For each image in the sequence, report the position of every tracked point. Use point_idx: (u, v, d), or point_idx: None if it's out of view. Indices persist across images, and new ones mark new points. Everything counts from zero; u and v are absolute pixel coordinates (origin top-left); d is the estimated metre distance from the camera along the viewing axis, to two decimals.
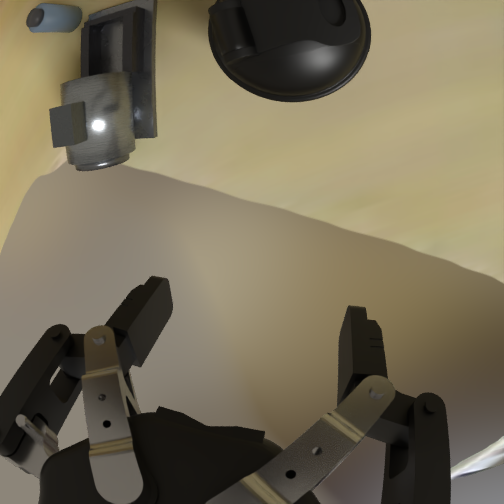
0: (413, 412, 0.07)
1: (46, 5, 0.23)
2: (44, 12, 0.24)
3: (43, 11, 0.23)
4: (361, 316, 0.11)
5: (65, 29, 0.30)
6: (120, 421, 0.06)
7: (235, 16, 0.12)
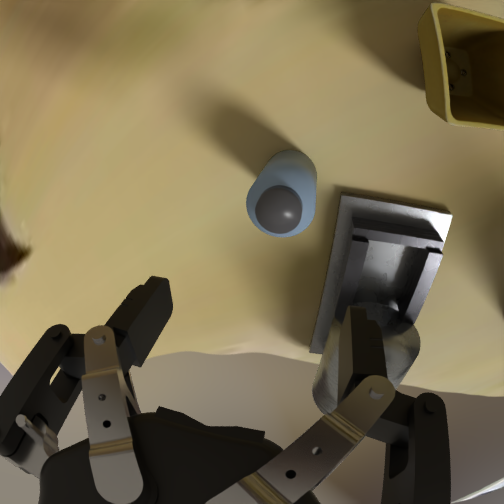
0: (413, 412, 0.07)
1: (308, 190, 0.20)
2: (301, 205, 0.21)
3: (302, 203, 0.21)
4: (361, 316, 0.11)
5: None
6: (120, 421, 0.06)
7: None
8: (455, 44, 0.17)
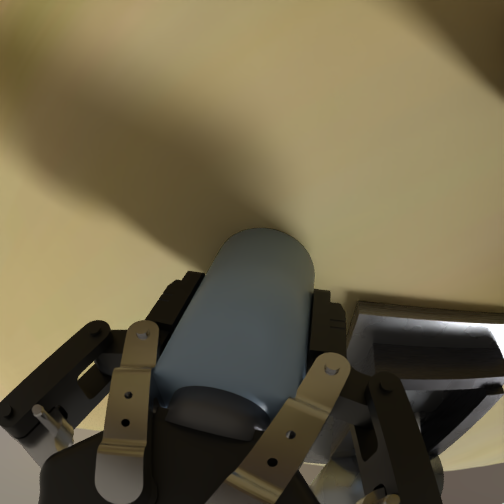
0: (370, 394, 0.08)
1: (284, 401, 0.07)
2: (268, 419, 0.08)
3: (267, 421, 0.08)
4: (324, 298, 0.12)
5: None
6: (140, 424, 0.06)
7: None
8: None
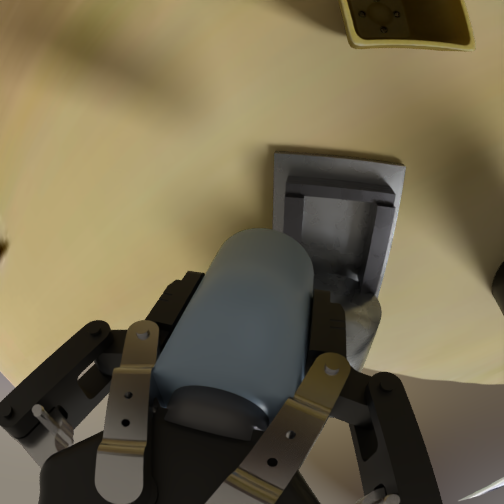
0: (370, 394, 0.08)
1: (282, 401, 0.07)
2: (266, 419, 0.08)
3: (266, 420, 0.08)
4: (324, 298, 0.12)
5: None
6: (140, 423, 0.06)
7: None
8: None
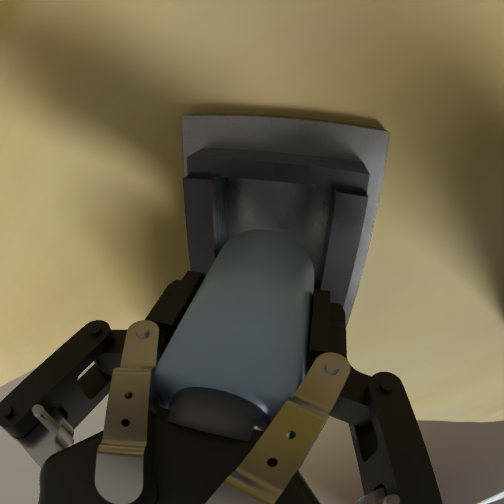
0: (370, 394, 0.08)
1: (283, 402, 0.07)
2: (267, 420, 0.08)
3: (267, 421, 0.08)
4: (324, 298, 0.12)
5: None
6: (140, 424, 0.06)
7: None
8: None
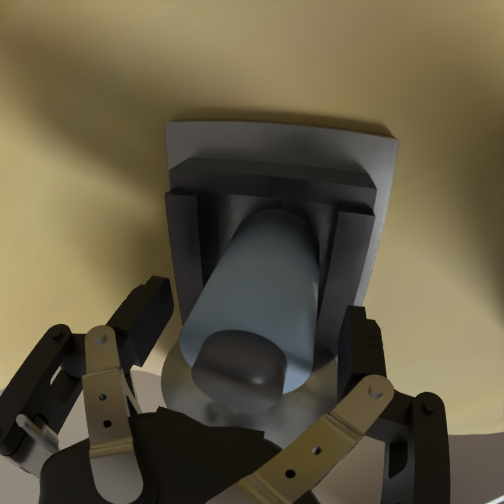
0: (412, 411, 0.07)
1: (300, 340, 0.09)
2: (285, 362, 0.10)
3: (285, 362, 0.10)
4: (360, 315, 0.11)
5: None
6: (121, 421, 0.06)
7: None
8: None
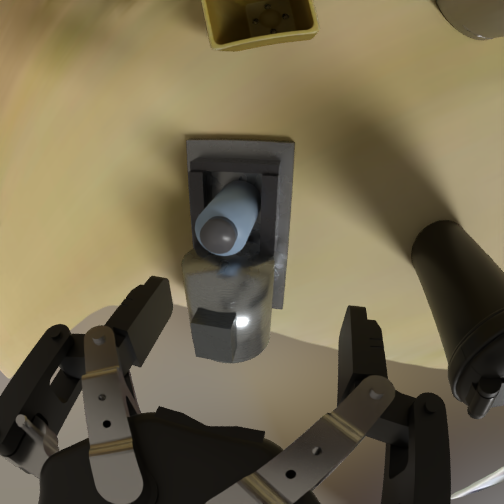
0: (413, 412, 0.07)
1: (240, 218, 0.27)
2: (236, 230, 0.27)
3: (236, 229, 0.27)
4: (361, 316, 0.11)
5: None
6: (120, 421, 0.06)
7: (494, 399, 0.14)
8: None
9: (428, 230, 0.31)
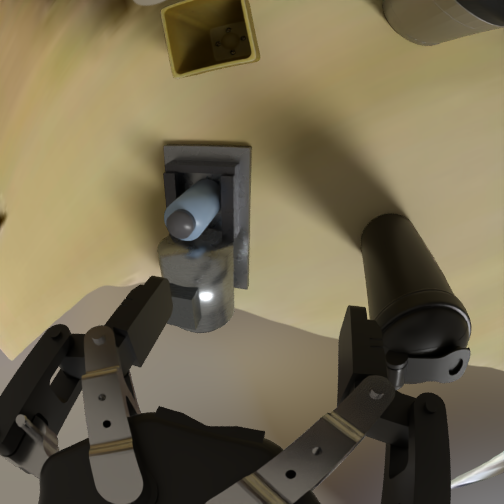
0: (413, 412, 0.07)
1: (196, 210, 0.33)
2: (194, 220, 0.34)
3: (194, 219, 0.33)
4: (361, 316, 0.11)
5: None
6: (120, 421, 0.06)
7: (403, 372, 0.21)
8: (230, 20, 0.28)
9: (374, 222, 0.38)
